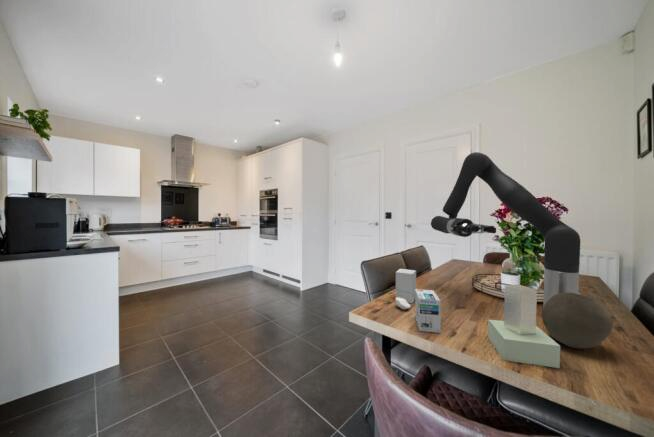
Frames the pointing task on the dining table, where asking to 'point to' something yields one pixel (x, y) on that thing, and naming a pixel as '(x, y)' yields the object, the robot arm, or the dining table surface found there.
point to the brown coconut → (576, 320)
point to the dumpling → (402, 303)
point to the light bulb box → (427, 311)
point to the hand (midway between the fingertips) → (482, 230)
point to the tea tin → (520, 309)
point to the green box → (524, 345)
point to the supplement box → (406, 284)
